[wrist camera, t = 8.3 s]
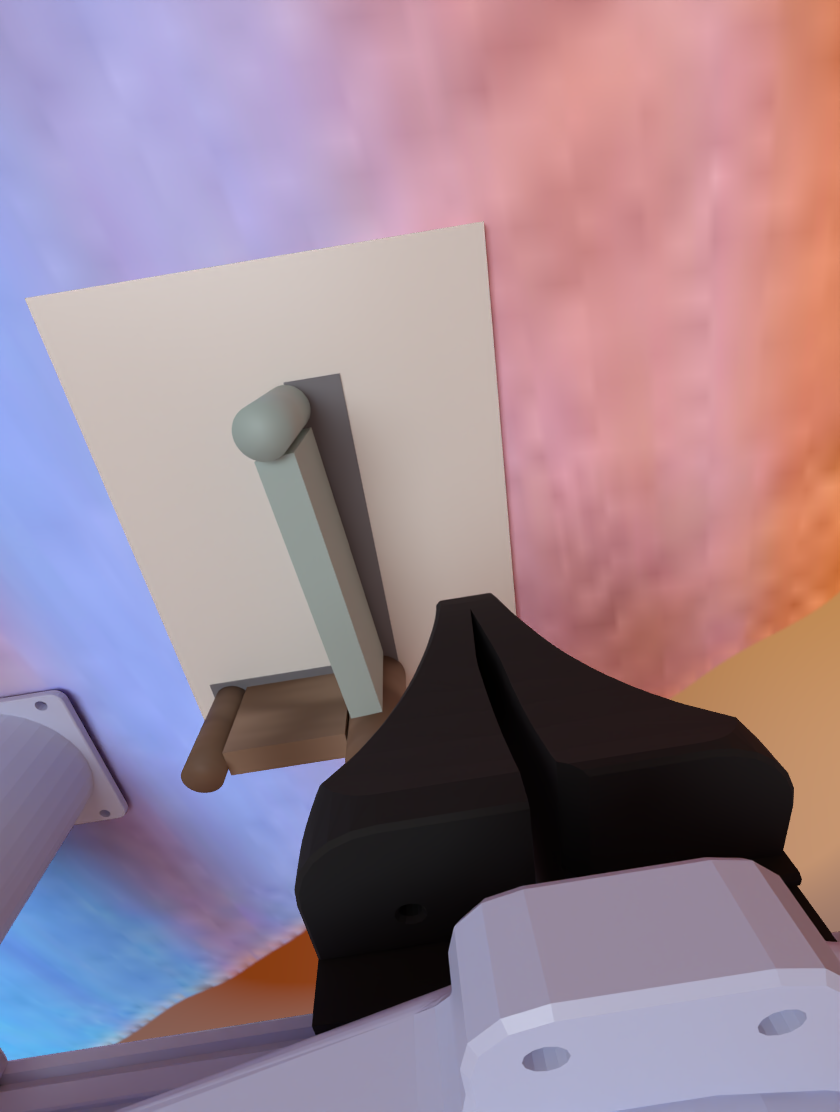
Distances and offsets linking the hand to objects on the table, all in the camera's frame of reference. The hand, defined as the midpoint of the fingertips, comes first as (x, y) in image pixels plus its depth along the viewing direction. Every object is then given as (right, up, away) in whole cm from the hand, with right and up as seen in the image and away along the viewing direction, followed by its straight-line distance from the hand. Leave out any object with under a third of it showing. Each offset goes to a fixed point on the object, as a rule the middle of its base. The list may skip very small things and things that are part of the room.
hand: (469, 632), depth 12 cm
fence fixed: (-6, -4, +11) cm, 14 cm away
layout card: (-5, +3, +9) cm, 10 cm away
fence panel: (-5, +3, +8) cm, 10 cm away
